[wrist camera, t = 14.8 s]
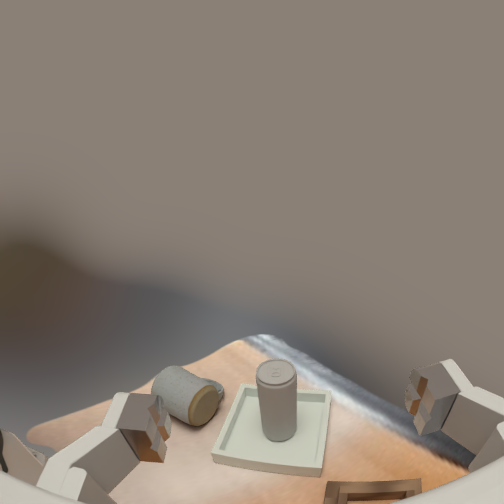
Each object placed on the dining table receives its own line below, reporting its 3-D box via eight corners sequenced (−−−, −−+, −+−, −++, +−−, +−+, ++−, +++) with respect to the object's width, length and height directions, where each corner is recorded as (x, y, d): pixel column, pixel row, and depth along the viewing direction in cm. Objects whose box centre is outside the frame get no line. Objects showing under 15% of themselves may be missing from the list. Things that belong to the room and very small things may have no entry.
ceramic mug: (197, 437, 39) (185, 403, 36) (157, 415, 43) (144, 381, 40) (237, 395, 47) (231, 360, 45) (198, 379, 51) (190, 345, 49)
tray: (214, 462, 34) (210, 452, 34) (243, 394, 47) (241, 383, 46) (320, 477, 31) (321, 468, 30) (330, 401, 43) (331, 390, 42)
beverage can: (296, 416, 41) (295, 356, 37) (297, 442, 36) (297, 383, 32) (263, 418, 41) (256, 358, 37) (261, 443, 37) (253, 385, 32)
